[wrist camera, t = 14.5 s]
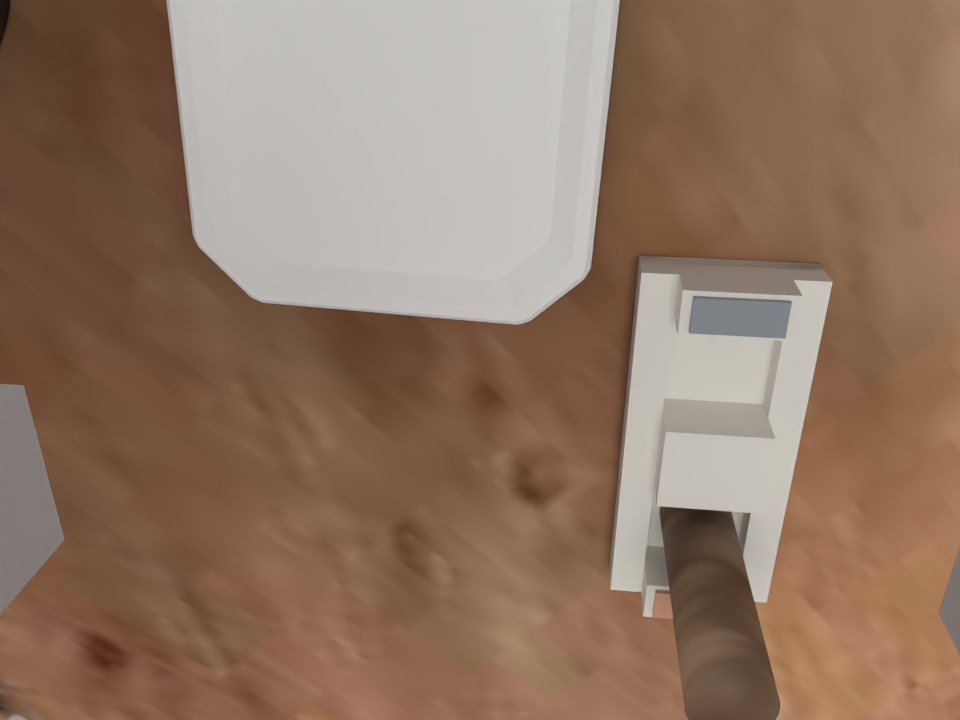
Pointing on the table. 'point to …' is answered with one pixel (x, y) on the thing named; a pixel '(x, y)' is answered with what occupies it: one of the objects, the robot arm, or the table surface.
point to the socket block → (713, 407)
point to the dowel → (715, 619)
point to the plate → (396, 149)
